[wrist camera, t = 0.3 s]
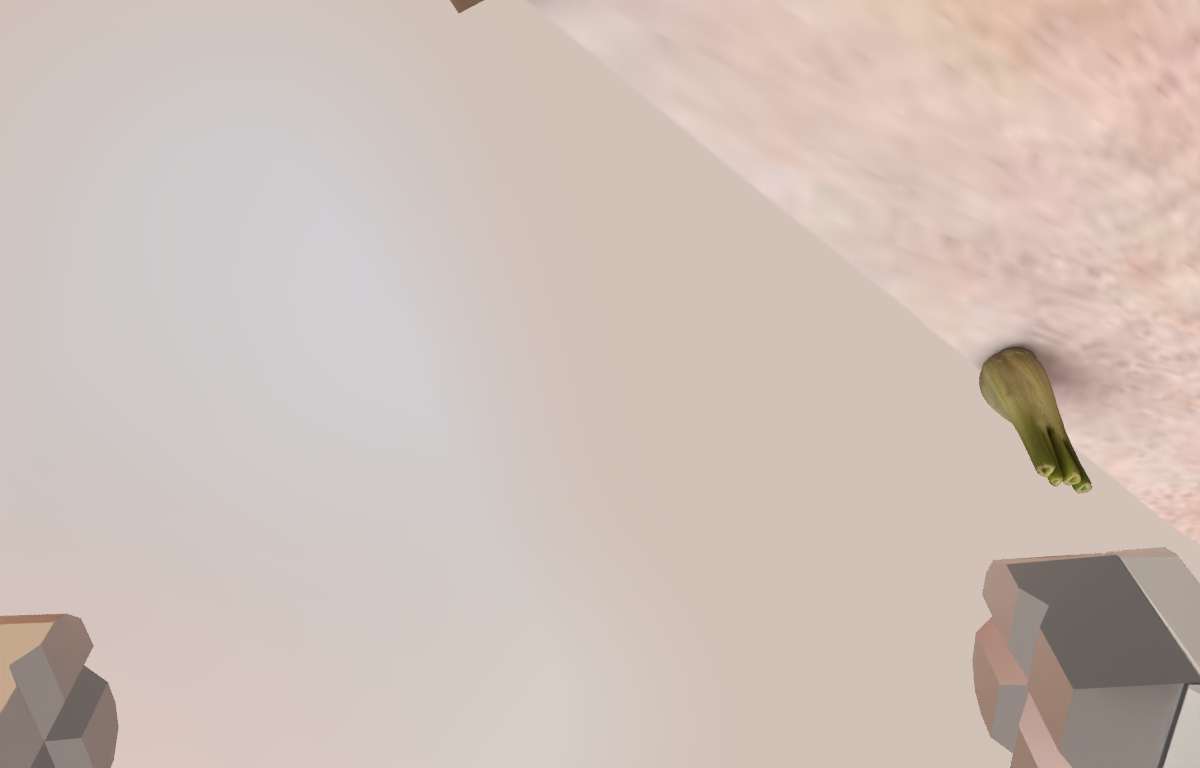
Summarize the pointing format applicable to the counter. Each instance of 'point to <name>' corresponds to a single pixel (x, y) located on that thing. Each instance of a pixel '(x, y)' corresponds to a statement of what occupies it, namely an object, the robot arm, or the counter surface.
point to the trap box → (464, 4)
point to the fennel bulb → (1032, 414)
